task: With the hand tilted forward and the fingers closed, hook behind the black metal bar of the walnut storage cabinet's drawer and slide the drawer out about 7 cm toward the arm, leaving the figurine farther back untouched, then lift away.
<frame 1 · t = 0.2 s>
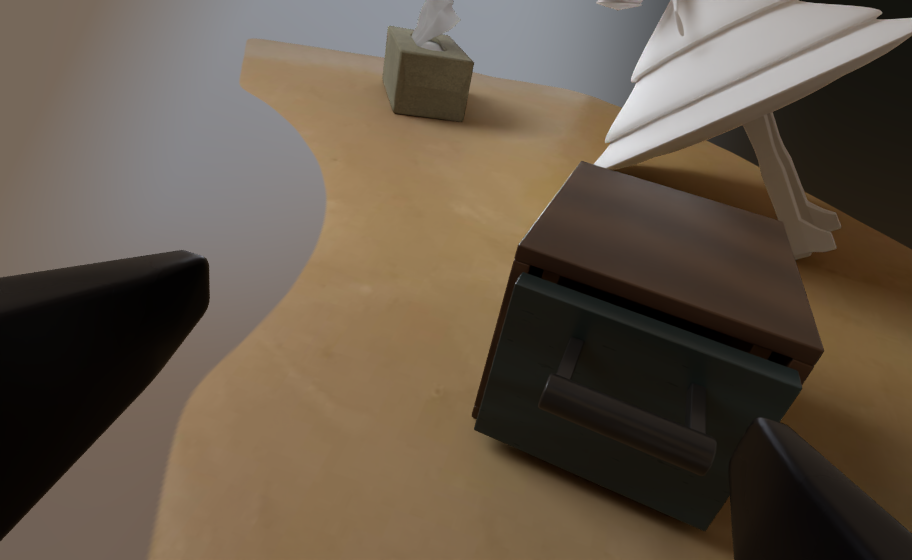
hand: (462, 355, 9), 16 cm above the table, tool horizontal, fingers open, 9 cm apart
drawer: (626, 355, 28), point 5 cm above the table, slide at 0.5 cm
cabinet: (606, 382, 34), on the table
figurine: (664, 196, 67), on the table
tissue box: (419, 100, 83), on the table
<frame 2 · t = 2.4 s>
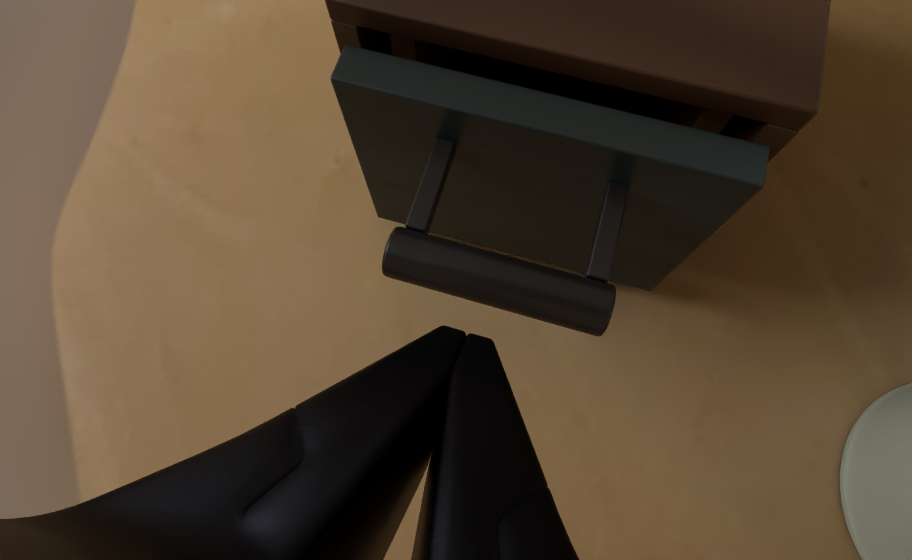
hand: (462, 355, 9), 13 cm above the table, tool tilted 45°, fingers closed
drawer: (554, 92, 20), point 5 cm above the table, slide at 0.5 cm
cabinet: (558, 87, 26), on the table
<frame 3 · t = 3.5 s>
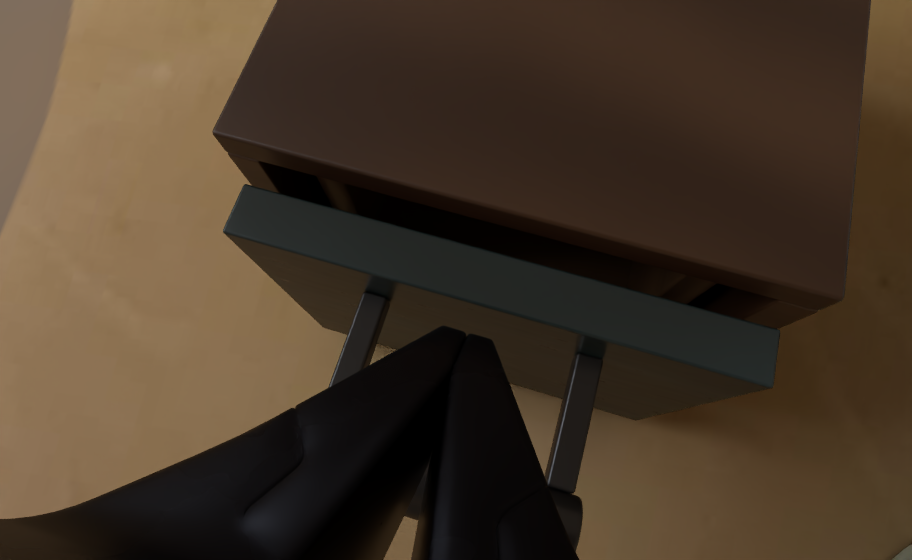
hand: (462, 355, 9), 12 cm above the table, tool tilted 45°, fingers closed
drawer: (520, 202, 17), point 5 cm above the table, slide at 0.5 cm
cabinet: (535, 165, 23), on the table
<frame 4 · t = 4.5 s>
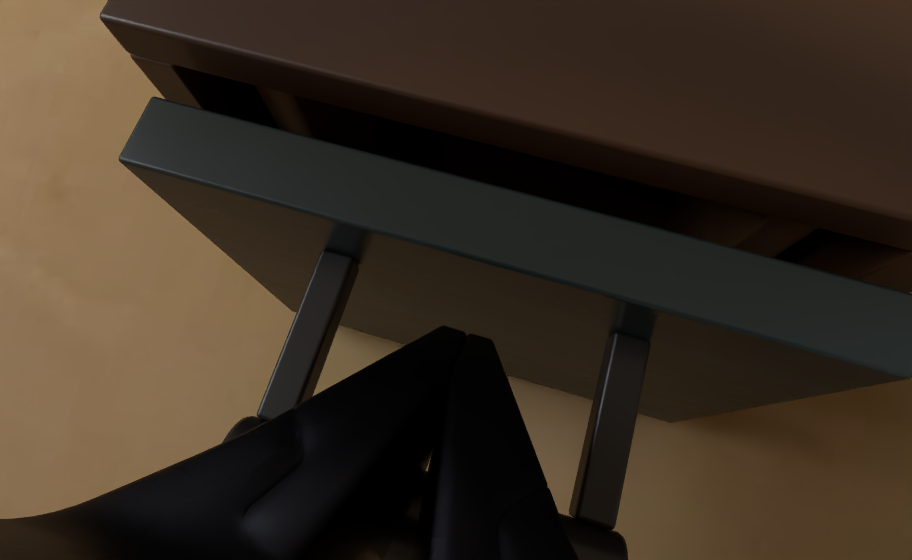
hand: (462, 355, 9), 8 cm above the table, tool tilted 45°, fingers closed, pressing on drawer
drawer: (531, 149, 13), point 5 cm above the table, slide at 0.5 cm, touching gripper
cabinet: (544, 123, 20), on the table
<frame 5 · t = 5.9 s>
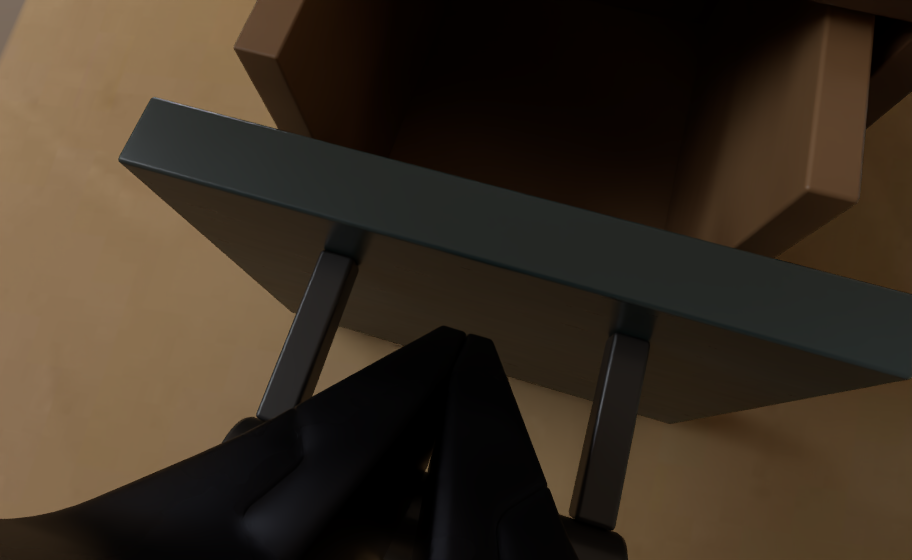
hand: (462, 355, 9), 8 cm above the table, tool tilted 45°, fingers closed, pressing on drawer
drawer: (530, 150, 13), point 5 cm above the table, slide at 4.4 cm, touching gripper
cabinet: (569, 37, 21), on the table
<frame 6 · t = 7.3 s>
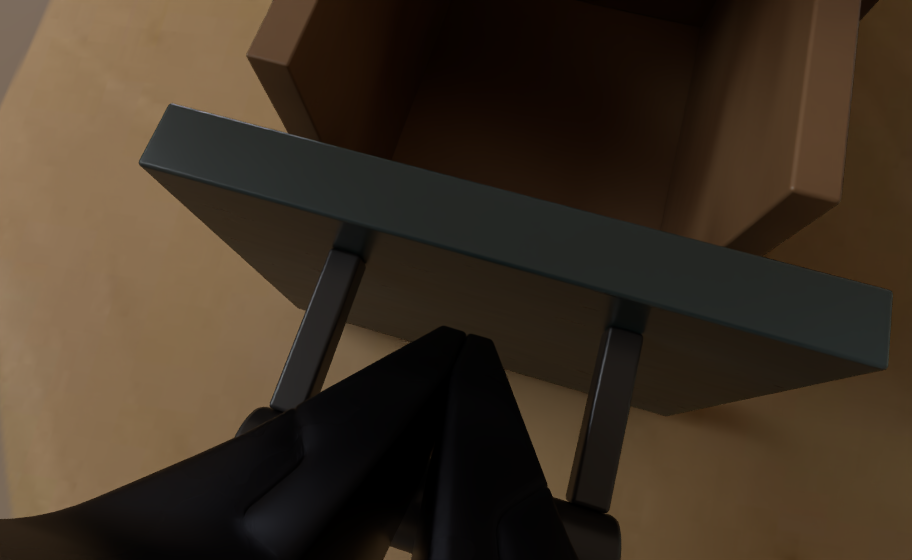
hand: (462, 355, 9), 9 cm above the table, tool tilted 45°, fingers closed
drawer: (530, 151, 14), point 5 cm above the table, slide at 7.4 cm
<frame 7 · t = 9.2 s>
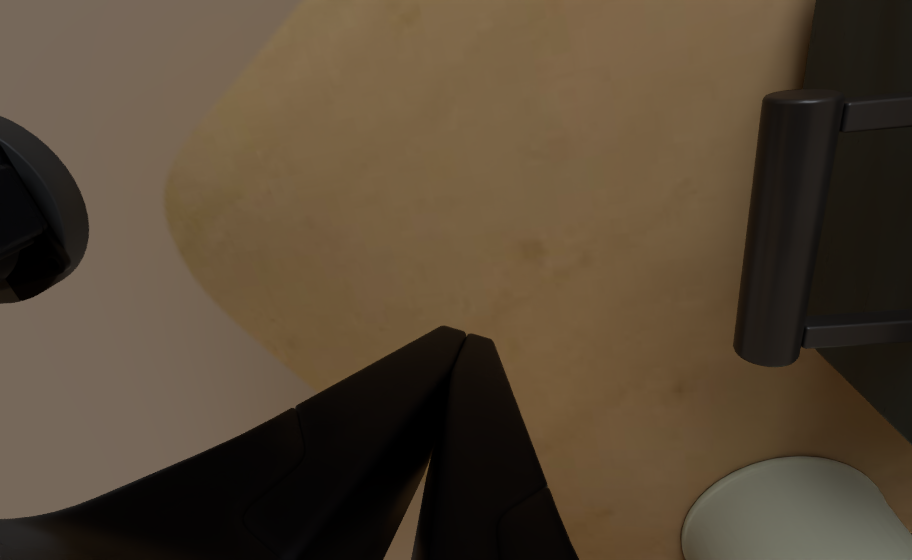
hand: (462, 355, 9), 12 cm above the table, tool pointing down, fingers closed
can: (777, 526, 27), on the table
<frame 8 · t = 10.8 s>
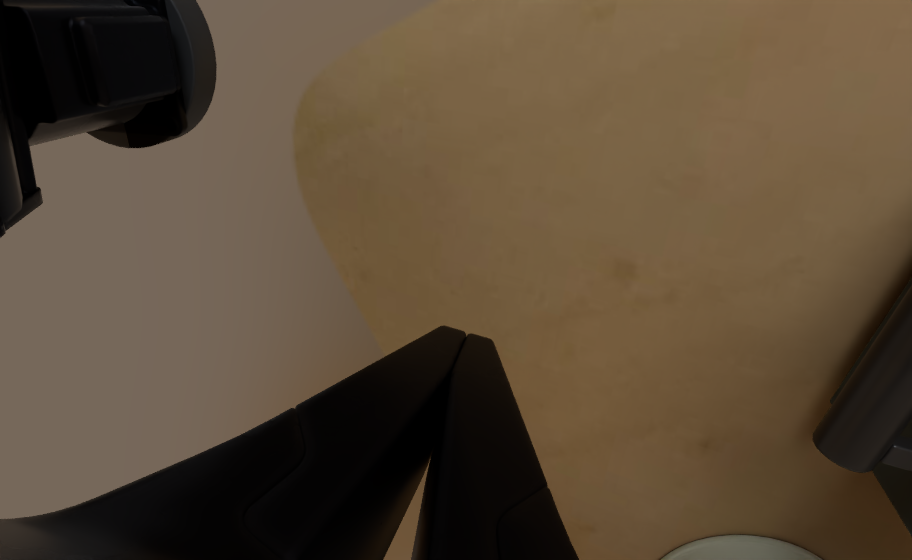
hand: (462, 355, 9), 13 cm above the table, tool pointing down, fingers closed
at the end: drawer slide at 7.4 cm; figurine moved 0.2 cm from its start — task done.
